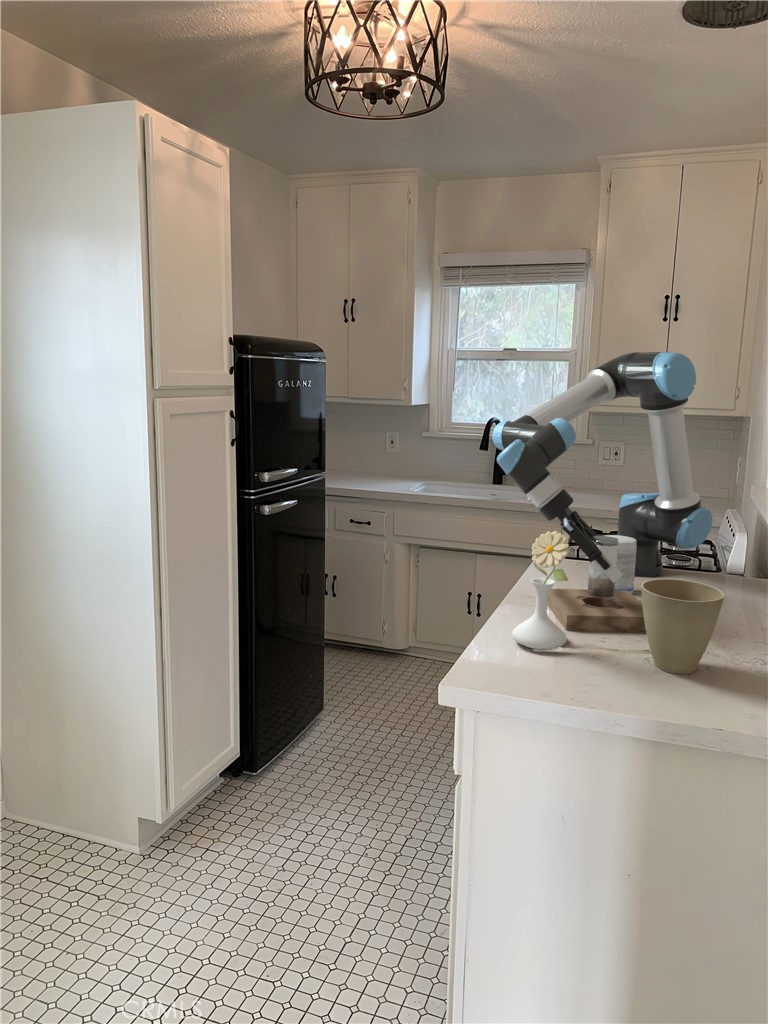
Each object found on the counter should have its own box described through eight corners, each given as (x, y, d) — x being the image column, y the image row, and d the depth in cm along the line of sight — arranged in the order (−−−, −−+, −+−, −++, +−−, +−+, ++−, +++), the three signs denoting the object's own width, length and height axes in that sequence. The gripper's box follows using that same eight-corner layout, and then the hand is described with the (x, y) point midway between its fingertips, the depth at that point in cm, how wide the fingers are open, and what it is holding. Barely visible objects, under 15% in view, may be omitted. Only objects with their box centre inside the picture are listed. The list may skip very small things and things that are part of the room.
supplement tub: (640, 595, 193) (645, 540, 190) (616, 600, 188) (621, 544, 185) (610, 585, 201) (615, 533, 198) (586, 590, 196) (591, 536, 193)
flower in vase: (500, 638, 158) (507, 524, 154) (545, 632, 163) (553, 521, 158) (536, 660, 147) (545, 537, 142) (582, 653, 151) (592, 534, 146)
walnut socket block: (626, 608, 182) (627, 590, 181) (656, 636, 162) (658, 617, 161) (545, 606, 181) (546, 588, 180) (565, 634, 162) (567, 615, 161)
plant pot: (636, 648, 155) (643, 574, 152) (714, 660, 149) (723, 584, 146) (630, 673, 141) (638, 593, 138) (715, 688, 136) (725, 605, 133)
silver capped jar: (607, 589, 174) (611, 535, 171) (619, 597, 168) (623, 541, 165) (583, 590, 173) (586, 536, 170) (594, 598, 167) (597, 541, 165)
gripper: (543, 502, 180) (607, 574, 178) (532, 516, 163) (603, 596, 161) (567, 482, 178) (632, 555, 176) (558, 494, 160) (631, 575, 158)
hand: (618, 574), depth 168 cm, fingers closed on silver capped jar, 6 cm apart
